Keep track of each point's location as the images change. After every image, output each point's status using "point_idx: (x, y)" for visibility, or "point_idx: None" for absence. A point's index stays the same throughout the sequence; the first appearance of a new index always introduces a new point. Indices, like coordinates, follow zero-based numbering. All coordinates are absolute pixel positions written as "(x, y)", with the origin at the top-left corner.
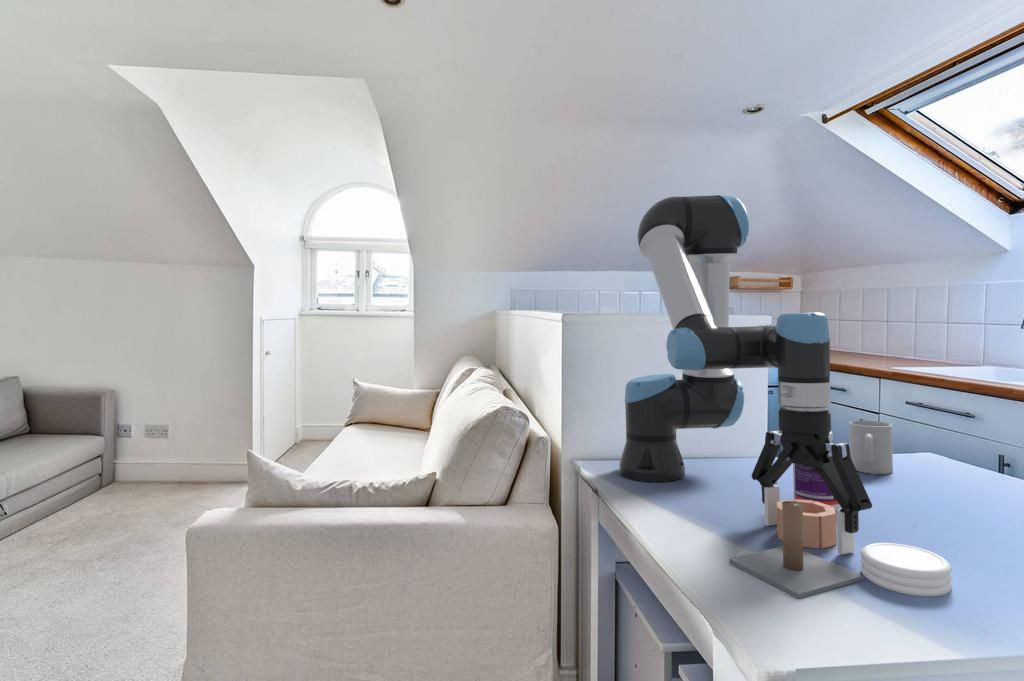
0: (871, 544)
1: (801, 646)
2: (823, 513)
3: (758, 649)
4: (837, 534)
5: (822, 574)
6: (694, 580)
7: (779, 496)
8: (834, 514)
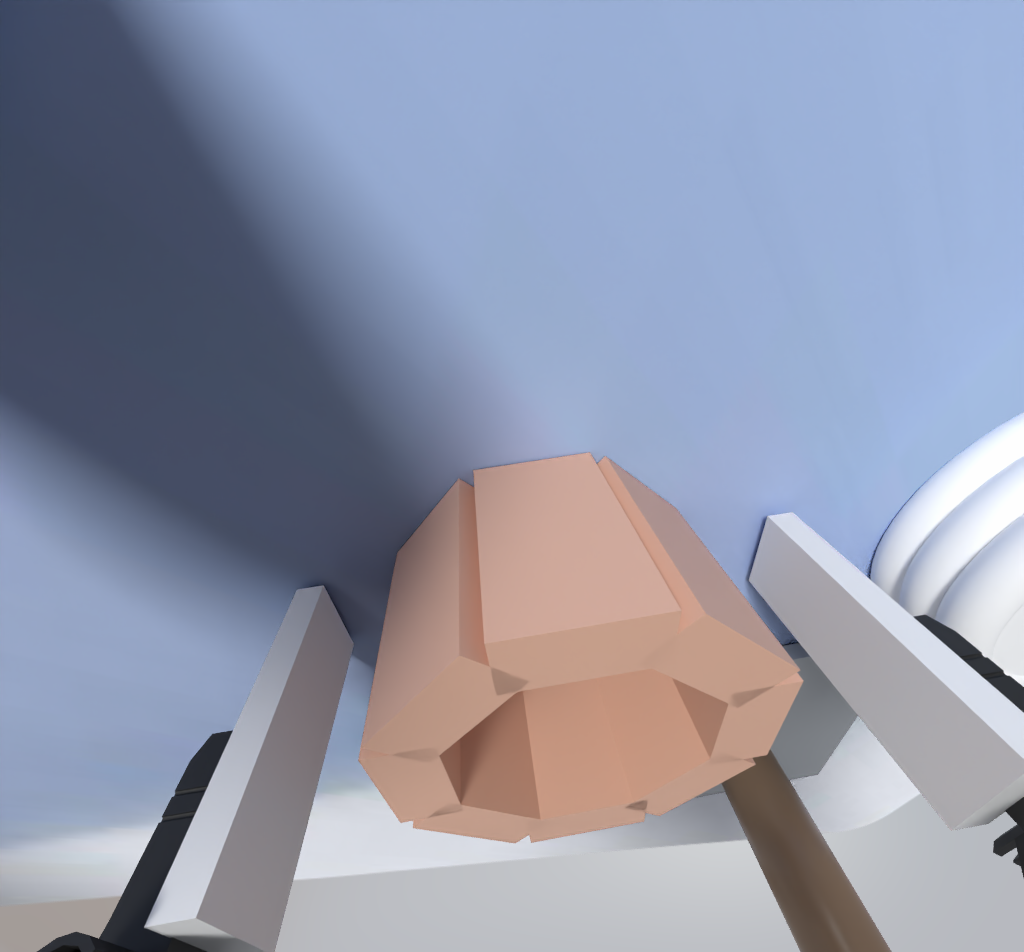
0: (1001, 624)
1: (880, 798)
2: (742, 728)
3: (837, 827)
4: (812, 657)
5: (813, 711)
6: (632, 845)
7: (248, 779)
8: (795, 681)
